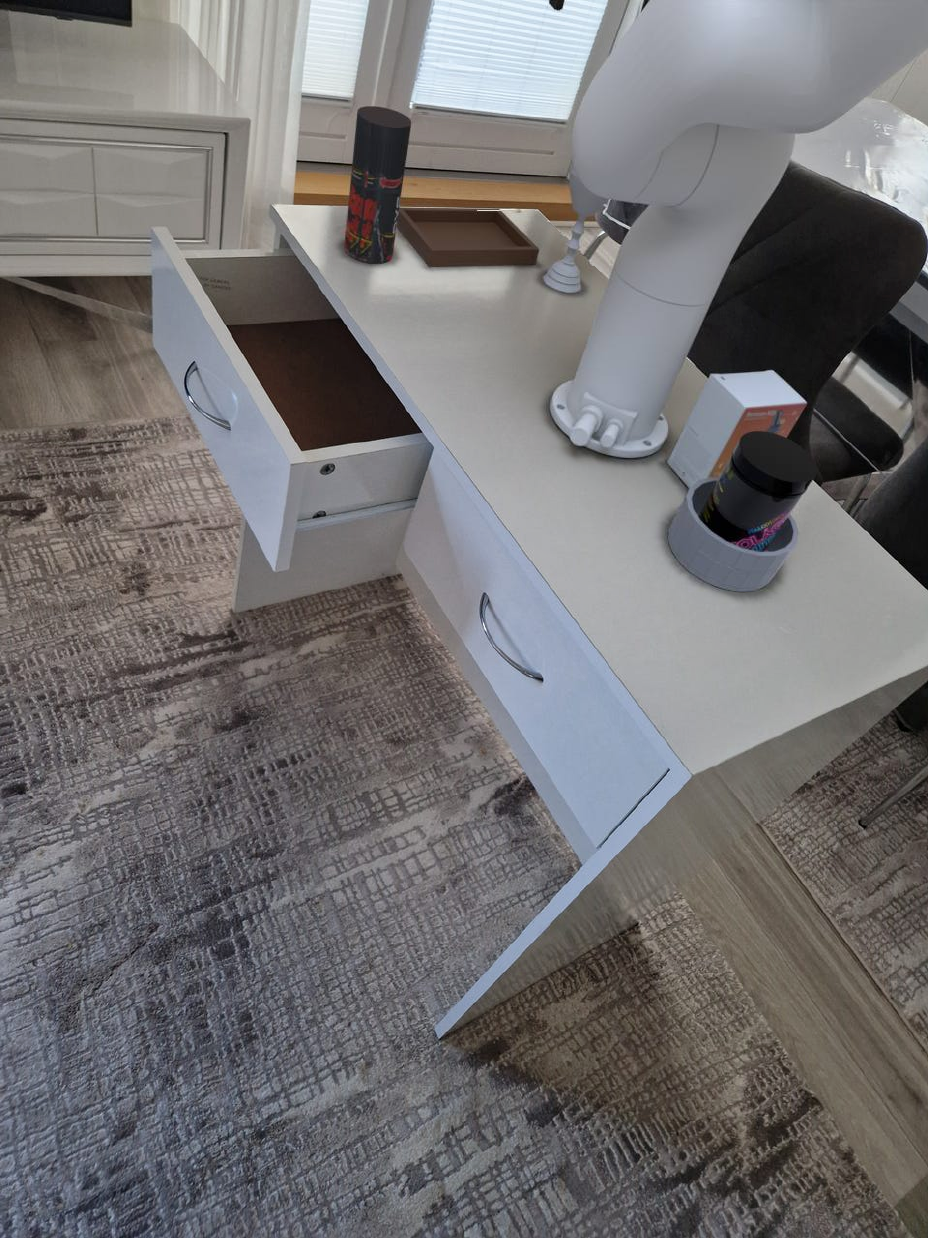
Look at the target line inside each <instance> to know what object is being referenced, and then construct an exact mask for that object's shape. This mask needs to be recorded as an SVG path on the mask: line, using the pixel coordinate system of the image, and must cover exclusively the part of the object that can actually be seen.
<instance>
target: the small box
mask: <svg viewBox="0 0 928 1238" xmlns="http://www.w3.org/2000/svg"><path fill="white" fill-rule="evenodd" d="M807 405H808V402H807V401H806V400H805V398H804V397H802V396H801V395H800V394H799V393H798V392H797V391H796V390H795V389H794V388H793V387H792V386H791V385H790V384H789V383H788V382H787V381H785V379H783V378H782V377H781V376H780V375H779V374H778V373H777V372H775V371H774V370H772V369H770V370H769V369H767V370H764V371H750V372H735V373H733V372H732V373H710V374H709V377H708V379H707V380H706V382H705V385H704V386H703V389H702V390H701V393H700V394H699V397H698V399H697V401H696V403H695V405H694V407H693V408H692V411H691V413H690V415H689V417H688V419H687V421H686V423H685V426H684V427H683V430H682V431H681V433H680V435H679V438H678V440H677V441H676V443H675V446H674V447H673V450H672V451H671V454H670V456H669V458H668V460H667V465H668V466H669V467H670V468H671V470H673V472H674V473H675V474H676V475H677V476H678V478H680V479H681V481H682V482H683V483H684V485H686V487H687V488H688V489H689V488H690V487H691V486H692V485H693V484H695V483H696V482H697V481H699V480H702V479H706V478H710V477H720V476H721V474H722V472H723V470H724V468H725V466H726V465H727V463H728V461H729V459H730V457H731V454H732V452H733V451H734V449H735V448H736V446H737V444H738V442H739V440H740V439H741V437H742V436H743V435H744V434H746V433H748V432H752V431H765V432H770V433H774V434H778V435H780V436H783V437H785V438H788V436H789V434H790V433H791V431H792V430H793V428H794V426H795V424H796V423H797V421H798V420H799V418H800V417H801V415H802V413H803V412H804V410H805V408H806V406H807Z"/></svg>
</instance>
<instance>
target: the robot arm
mask: <svg viewBox="0 0 928 1238" xmlns="http://www.w3.org/2000/svg"><path fill="white" fill-rule="evenodd" d="M548 4H549V5H550V7H551V8H552V9H553V10H555V11H561V10H563V8H564V5H565V0H548ZM926 50H928V0H643V2H642V5H641V8H640V13H639V14H638V16H637V17H636V18H635V20H634V21H633V23H631V25H630V26H629V28H628V29H627V31H626V32H625V33H624V35H623V36H622V38H621V39H620V40H619V41H618V43H617V44H616V46H615V47H614V48H613V49H612V51H611V53H609V55H608V56H607V58H606V60H605V61H604V62H603V64H602V65H601V67H600V68H599V69H598V71H597V73H596V74H595V76H594V77H593V78H592V80H591V82H590V84H589V86H588V87H587V90H586V92H585V94H584V95H583V98H582V100H581V102H580V104H579V107H578V110H577V113H576V117H575V120H574V124H573V127H572V128H573V129H572V132H571V135H572V136H571V143H570V144H571V145H570V153H571V160H572V161H573V166H574V169H575V172H576V174H577V176H578V178H579V179H580V181H581V182H582V184H583V185H584V186H585V187H586V188H587V189H588V190H589V191H591V192H592V193H594V194H596V195H598V196H600V197H603V198H607V199H609V200H612V201H618V202H624V203H631V204H632V203H634V204H641V205H648V206H647V207H646V208H645V209H644V210H643V211H642V213H640V215H639V216H638V217H637V218H636V220H634V222H633V224H632V225H631V227H630V228H629V230H628V231H627V233H626V234H625V236H624V237H623V240H622V242H621V244H620V247H619V248H618V251H617V253H616V254H617V255H616V258H615V260H614V263H613V265H612V269H611V271H610V274H609V278H608V280H607V284H606V286H605V289H604V292H603V295H602V297H601V300H600V304H599V306H598V309H597V312H596V314H595V317H594V321H593V324H592V326H591V329H590V332H589V335H588V338H587V341H586V343H585V346H584V349H583V353H582V356H581V359H580V361H579V364H578V366H577V370H576V373H575V376H574V378H573V379H571V380H568V381H565V382H563V383H561V384H560V385H559V386H557V387H556V389H555V390H554V391H553V393H552V396H551V399H550V401H549V411H550V414H551V417H552V419H553V421H554V423H555V424H556V425H557V427H559V429H560V430H561V431H562V432H563V433H564V434H565V435H566V436H567V437H569V439H570V441H571V443H572V444H573V445H575V446H577V447H578V446H579V447H585V448H587V449H589V450H591V451H594V452H596V453H600V454H603V455H607V456H610V457H615V458H621V459H622V458H623V459H624V458H625V459H635V458H644V457H647V456H650V455H653V454H654V453H657V452H659V450H661V448H662V447H664V444H665V442H666V440H667V438H668V435H669V424H668V421H667V419H666V416H665V415H664V414H663V411H664V408H665V406H666V404H667V401H668V399H669V397H670V394H671V392H672V390H673V388H674V386H675V383H676V381H677V380H678V377H679V375H680V373H681V370H682V369H683V366H684V364H685V361H686V359H687V357H688V355H689V352H690V351H691V348H692V346H693V344H694V341H695V339H696V337H697V335H698V333H699V330H700V328H701V326H702V323H703V321H704V319H705V318H706V315H707V313H708V311H709V308H710V306H711V304H712V302H713V299H714V298H715V296H716V294H717V292H718V289H719V287H720V285H721V283H722V280H723V278H724V276H725V274H726V272H727V270H728V268H729V265H730V263H731V261H732V260H733V257H734V255H735V253H736V252H737V250H738V248H739V246H740V244H741V242H742V241H743V239H744V237H745V235H746V234H747V232H748V230H749V229H750V227H751V226H752V224H753V223H754V221H755V219H756V218H757V217H758V216H759V214H760V212H761V211H762V209H763V208H764V206H765V205H766V204H767V202H768V201H769V199H770V198H771V197H772V195H773V193H774V192H775V191H776V189H777V187H778V186H779V184H780V182H781V180H782V179H783V176H784V174H785V172H786V170H787V169H788V166H789V164H790V161H791V158H792V155H793V151H794V147H795V143H796V135H802V134H809V133H814V132H816V131H820V130H822V129H824V128H826V127H827V126H829V125H831V124H832V123H834V122H835V121H837V120H838V119H840V118H841V117H843V116H844V115H845V114H846V113H848V112H849V111H851V110H852V109H853V108H854V107H855V106H857V105H858V104H859V103H861V102H862V101H863V100H864V99H866V98H867V97H868V96H870V95H871V94H872V93H873V92H874V91H876V90H877V89H878V88H880V87H881V86H882V85H884V84H885V83H886V82H887V81H888V80H890V79H891V78H893V77H894V76H896V74H898V73H899V72H900V71H901V70H903V69H904V68H905V67H907V66H908V65H909V64H911V62H913V61H914V60H915V59H916V58H918V57H919V56H920V55H922V54H923V53H924V52H925V51H926Z"/></svg>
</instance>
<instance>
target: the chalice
mask: <svg viewBox="0 0 928 1238" xmlns="http://www.w3.org/2000/svg"><path fill="white" fill-rule="evenodd" d="M568 170H569V171H568V179H569V181H568V183H569V194H570V199H571V207H572V210H573V211H574V212H576V213H577V217H576V218H577V219H576V222H575V223H574V226H572V227H571V236H572V237H571V238H570V240H569V241H567V242H566V246H567V252H566V255H565V257H564V258H562V260H561V259H559V260H557V261H555V262H554V263H552V264H551V267H550V268H549V269H548V270H547V272H546V273H545V274H544V275H543V277H542V280H543V282H544V283H545V284H546V285H547V286H548V287H550V288H551V289H553V290H556V291H557V292H558V291H559V292H562V293H568V294H574V293H575V294H576V293H577V292H580V291H581V289H582V285H581V271H580V269H579V266H578V265H577V264H576V262H575V261H574V260H575V255H576V253H577V251H579V250H580V249H581V246H580V239H581V237H582V235H584V234H585V230H584V228H585V222H586V220H587V218H588V217H593V216H595V215H596V214H597V213H598V212H599V211H600V210H601V209H602V208H603V207H604V206H605V204H606V203H607V202H608V201H609V200H610V199H607V198H603V197H600V196H598V195H596V194H594V193H592V192H591V191H589V190H588V189H587V188H586V187H585V186H584V185H583V184H582V182H581V181H580V179H579V178H578V176H577V174H576V172H575V169H574V166H573V161H572V159H571V160H570V164H569V169H568Z"/></svg>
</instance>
